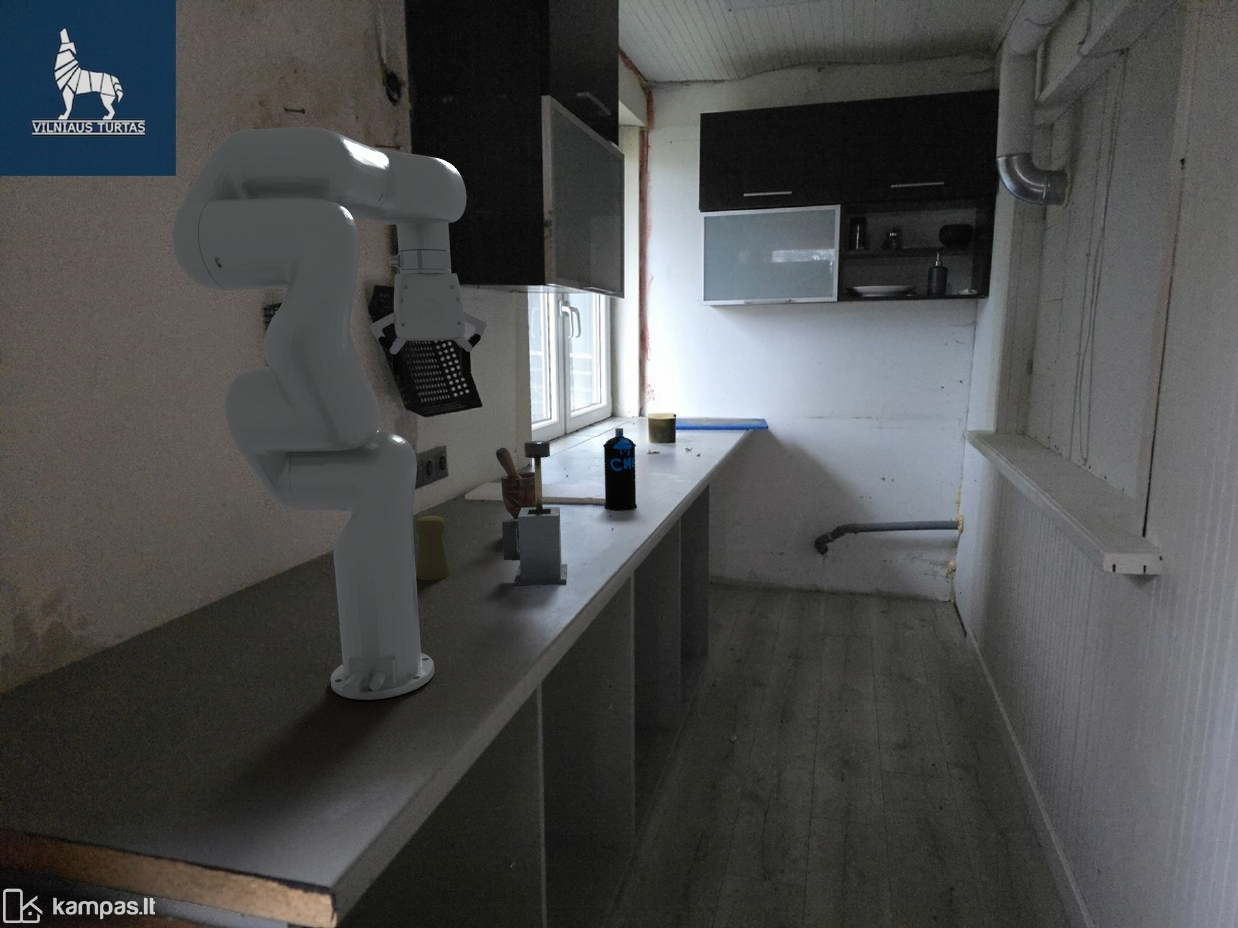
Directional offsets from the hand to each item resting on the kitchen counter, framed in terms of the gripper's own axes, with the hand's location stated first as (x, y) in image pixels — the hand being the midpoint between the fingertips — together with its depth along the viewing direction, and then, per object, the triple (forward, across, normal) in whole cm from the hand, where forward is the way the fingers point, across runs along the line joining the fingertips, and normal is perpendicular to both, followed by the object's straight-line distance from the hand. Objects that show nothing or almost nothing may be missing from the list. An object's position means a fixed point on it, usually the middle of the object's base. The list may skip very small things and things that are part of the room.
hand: (432, 378), depth 118 cm
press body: (+37, +17, +7) cm, 41 cm away
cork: (+37, 0, +16) cm, 40 cm away
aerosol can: (+38, +51, +54) cm, 84 cm away
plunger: (+27, +18, +7) cm, 33 cm away
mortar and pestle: (+38, +21, +37) cm, 57 cm away
